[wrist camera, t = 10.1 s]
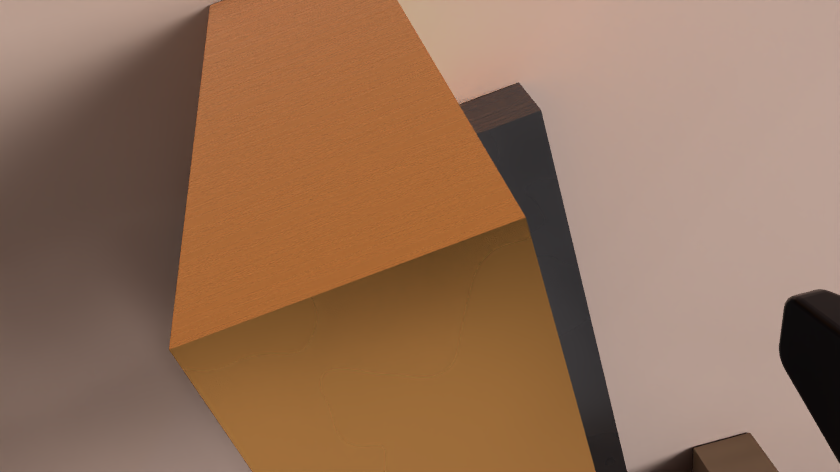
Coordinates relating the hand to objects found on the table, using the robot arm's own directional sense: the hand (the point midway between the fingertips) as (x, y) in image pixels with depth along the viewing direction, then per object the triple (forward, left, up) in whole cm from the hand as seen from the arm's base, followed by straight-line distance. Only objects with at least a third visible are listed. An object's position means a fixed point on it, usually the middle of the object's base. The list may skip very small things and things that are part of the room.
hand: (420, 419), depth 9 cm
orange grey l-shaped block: (-4, -1, -6) cm, 7 cm away
